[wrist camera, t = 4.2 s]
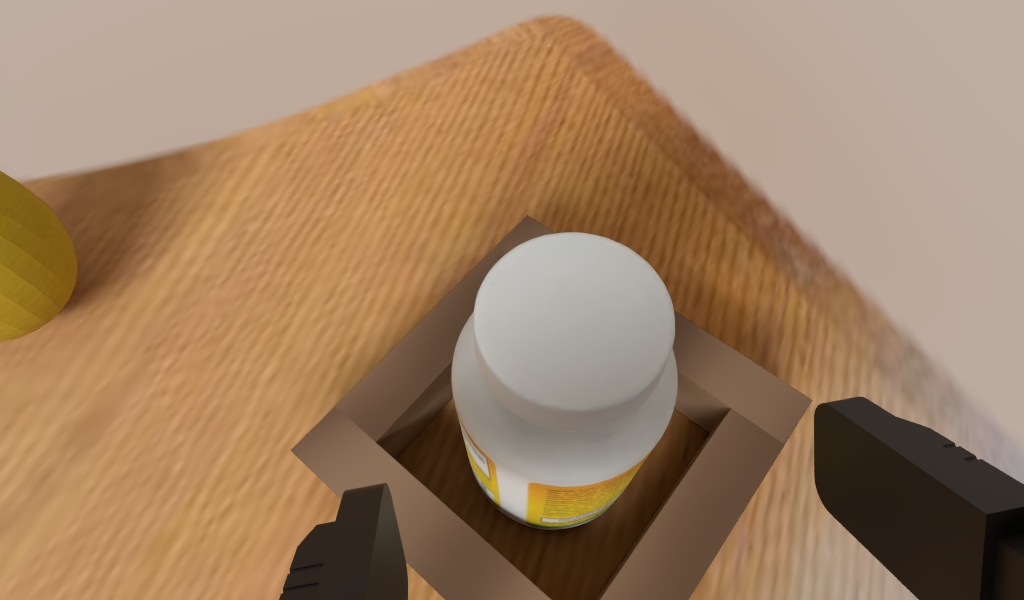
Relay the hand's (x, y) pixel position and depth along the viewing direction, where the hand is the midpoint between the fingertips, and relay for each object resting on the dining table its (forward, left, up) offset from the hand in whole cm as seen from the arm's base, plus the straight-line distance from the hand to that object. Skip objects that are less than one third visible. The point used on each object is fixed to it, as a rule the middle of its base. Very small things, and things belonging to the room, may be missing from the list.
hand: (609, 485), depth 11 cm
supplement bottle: (-2, +2, -9) cm, 9 cm away
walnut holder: (-2, +2, -9) cm, 9 cm away
